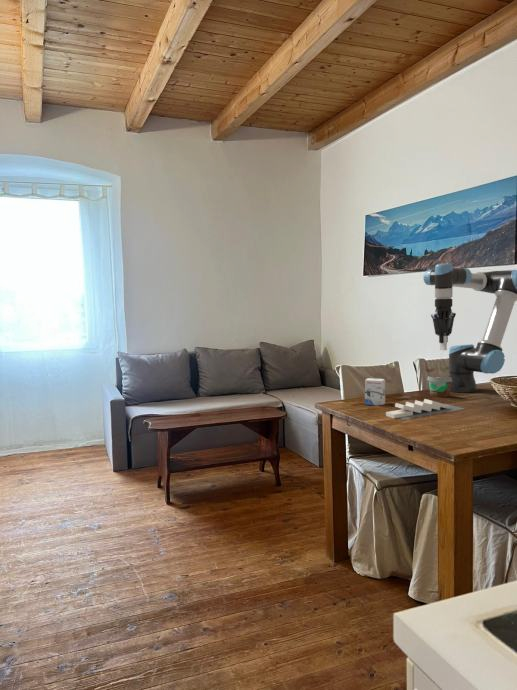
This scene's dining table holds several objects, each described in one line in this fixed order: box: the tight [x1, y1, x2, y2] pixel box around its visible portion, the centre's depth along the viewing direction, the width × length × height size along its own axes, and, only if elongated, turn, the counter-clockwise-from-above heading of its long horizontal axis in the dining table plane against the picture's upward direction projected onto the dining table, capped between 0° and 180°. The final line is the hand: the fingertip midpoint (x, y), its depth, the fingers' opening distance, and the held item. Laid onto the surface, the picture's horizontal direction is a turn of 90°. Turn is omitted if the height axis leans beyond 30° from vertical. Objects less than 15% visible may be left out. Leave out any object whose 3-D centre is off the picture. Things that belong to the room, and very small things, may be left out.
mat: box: [384, 403, 466, 421], centre depth 224 cm, size 34×12×1 cm, turn 115°
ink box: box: [364, 377, 386, 406], centre depth 242 cm, size 9×5×12 cm, turn 65°
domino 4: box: [413, 399, 440, 410], centre depth 224 cm, size 2×5×10 cm
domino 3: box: [405, 401, 432, 412], centre depth 222 cm, size 2×5×10 cm
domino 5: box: [423, 398, 450, 409], centre depth 226 cm, size 2×5×10 cm
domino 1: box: [385, 408, 413, 419], centre depth 218 cm, size 2×5×10 cm
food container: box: [426, 374, 452, 398], centre depth 252 cm, size 12×6×10 cm, turn 42°
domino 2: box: [394, 402, 421, 413], centre depth 220 cm, size 2×5×10 cm
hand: (443, 349), depth 239 cm, fingers closed
